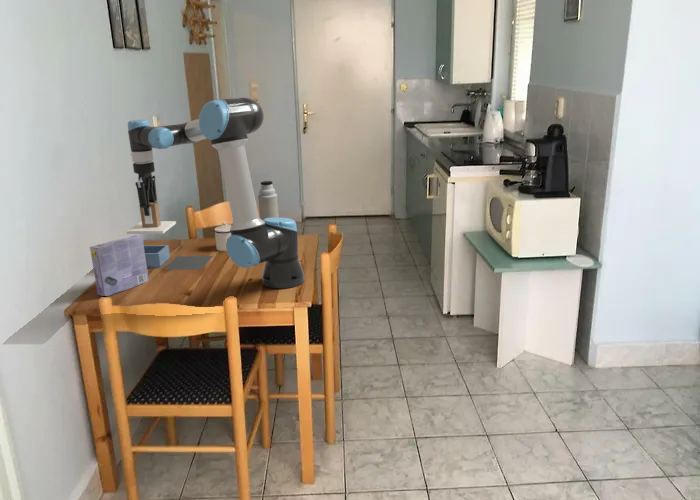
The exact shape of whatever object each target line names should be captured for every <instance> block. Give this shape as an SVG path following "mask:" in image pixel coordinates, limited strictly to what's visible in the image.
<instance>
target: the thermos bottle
mask: <svg viewBox="0 0 700 500" xmlns="http://www.w3.org/2000/svg"><path fill="white" fill-rule="evenodd" d="M258 191H259V192H258V195H257V200H258V215H259V218H260V219H261V220H264V219H265V218H275V217H277V218H280V217H279V203H278V194H277V193H276V189H275V188H274V185H273V181H271V180H264V181H261V182H260V189H259V190H258Z"/></svg>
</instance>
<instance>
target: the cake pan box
mask: <svg viewBox="0 0 700 500" xmlns="http://www.w3.org/2000/svg"><path fill="white" fill-rule="evenodd" d="M144 245H145V244H144V236H143V235H141V234H140V235H139V234H134V235H130V236H127V237H121V238H119V239H115V240H111V241H108V242H103V243H101V244H96V245H92V246H90V247H89V250H90V256H91V261H92V262H91V263H92V268H93V273H94V280H95V285H96V291H97V292H96V293H97V295H98V296H101V297H103V296H107V297H109V296H112V295H115V294H118V293H121V292H125V291H127V290H130V289H134V288H135V287H138V286H140V285H143V284H144V283H148V282H149V272H148V268H147V265H146V258H145V251H144Z"/></svg>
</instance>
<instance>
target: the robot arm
mask: <svg viewBox="0 0 700 500" xmlns="http://www.w3.org/2000/svg"><path fill="white" fill-rule="evenodd" d="M264 118H265V117H264V112H263V109H262V107H261V105H260V104H259V103H258V102H257V101H255V100H254V99H253V98H248V97H239V98H220V99H215V100H210V101H208V102H206V103H205V104H204V105H203V107H202V108H201V110H200V112H199V116H198V118H196V119H194V120H191V121H187V122H184V123H177V124H170V125H161V126H160V125H159V126H150V122H149V120H147V119H132V120H129V121H128V122H127V133H128V140H129V145H130V152H131V153H130V156H131V158H132V161H131V162H133V163H132V168H133V173H134V174H137V175H138V176H137V179H138V180H137V181H136V182H135V186H136V190H137V195H138V196H137V198H138V201H139V202H138V203H139V205H140V206H139V208H140V207H141V208H143V210H144V218H145V224H153V220H152V213H151V207H149V203H152V202H158V196H157V187H156V186H157V185H156V175H152V173H155V171H156V170H155V169H156V168H155V162H153V161H154V159H155V158H154V153H153V149H158V150H165V149H169V148H170V147H174V146H179V145H180V146H181V145H188V144H190V145H191V144H195V143H198V142H199V141H203V140H210V143H211V146H212V147H213V148H214V149H216V151H217V153H218V158H219V164H220V168H221V171H222V176H223V181H224V186H225V190H226V196H227V199H228V204H229V205H228V206H229V209H230V213H231V218H232V224H231V228H230V232H231V236H230V237H229V238H228V239H227V242H226V249H227V251H226V253H227V255H228V257H229V258H230V260H231V261H232V262H233V263H234V264H235V265H237V266H238V267H240V268H246V269H247V268H250V267H255V266H258V265H259V264H262V263H264V262H265V263H264V267H263V271H262V276H261V281H262V283H261V284H262V285H263V286H265V287H266V288H267V287H268V288H272V289H290V288H294V287H297V286H299V285H301V284H303V283H305V273H304V270H303V267H302V265H301V262H300V259H299V245H298V243H299V242H298V228H297V223H296V221H295V220H294V219H292V218H288V217H279V218H277V217H275V218H265V219H264V220H261V219H260V215H259V209H258V205H257V201H256V197H255V191H254V186H253V183H252V182H253V181H252V176H251V170H250V166H249V161H248V157H247V153H246V146H245V145H246V143H247V142H248V140H249V139H248V134H252V133H254V132H257V131H258V130H259V129H260V128H261V126H262V125H263V122H264Z"/></svg>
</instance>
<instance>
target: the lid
mask: <svg viewBox="0 0 700 500" xmlns="http://www.w3.org/2000/svg"><path fill="white" fill-rule="evenodd" d="M138 206H139V212H140V219H141V220H140V222H138V223H137V224H135V225H134V226H132V227H131V228H129V229H127V230H126V234H128V235H133V234H134V235H139V234H140V235H144V234H146V235H147V234H149V235H156V234H158V235H159V234H161V235H163V234H165V233H166V232H168V230H170V229H171V228H172V227H173V226H175V225H176V224H177V221H176V220H168V221H167V220H165V221H164V220H163V221H162V220H161V214H160V208H159V207H160V206H159V202H158V201H155V202H152V203H149V207H151V213H152V220H153V224H145V218H144V210H143V208H141V207H140V204H139V205H138Z"/></svg>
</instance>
